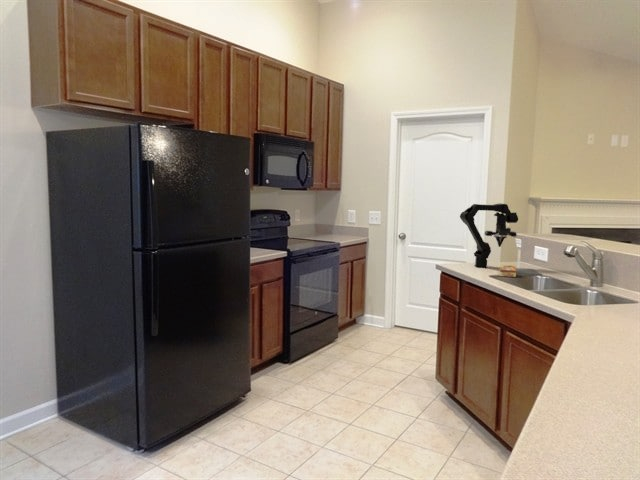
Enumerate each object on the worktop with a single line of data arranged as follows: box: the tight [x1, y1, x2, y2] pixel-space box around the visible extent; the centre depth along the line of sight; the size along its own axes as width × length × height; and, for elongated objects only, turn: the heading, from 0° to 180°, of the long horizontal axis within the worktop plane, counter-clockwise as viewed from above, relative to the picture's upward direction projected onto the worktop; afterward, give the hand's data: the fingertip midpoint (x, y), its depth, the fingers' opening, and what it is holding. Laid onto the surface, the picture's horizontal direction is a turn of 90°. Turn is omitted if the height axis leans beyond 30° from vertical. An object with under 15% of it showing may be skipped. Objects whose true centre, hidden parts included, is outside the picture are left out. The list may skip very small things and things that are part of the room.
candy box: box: [499, 264, 517, 278], centre depth 283 cm, size 9×4×15 cm
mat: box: [516, 268, 543, 276], centre depth 291 cm, size 16×15×1 cm
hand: (499, 246), depth 306 cm, fingers closed
